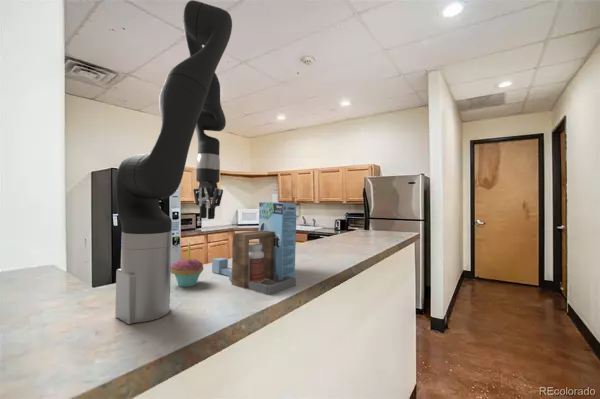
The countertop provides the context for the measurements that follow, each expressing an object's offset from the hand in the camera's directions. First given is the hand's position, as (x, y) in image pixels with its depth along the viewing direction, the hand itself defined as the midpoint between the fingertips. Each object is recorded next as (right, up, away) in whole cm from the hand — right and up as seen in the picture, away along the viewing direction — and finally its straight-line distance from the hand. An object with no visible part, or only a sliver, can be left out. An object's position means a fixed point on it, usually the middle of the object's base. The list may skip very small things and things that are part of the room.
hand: (207, 218), depth 99 cm
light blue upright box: (+23, -18, -5) cm, 30 cm away
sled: (+9, -17, -7) cm, 21 cm away
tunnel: (+18, -18, -14) cm, 29 cm away
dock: (+24, -18, -18) cm, 35 cm away
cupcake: (0, -18, -18) cm, 25 cm away
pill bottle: (+18, -18, -14) cm, 29 cm away
